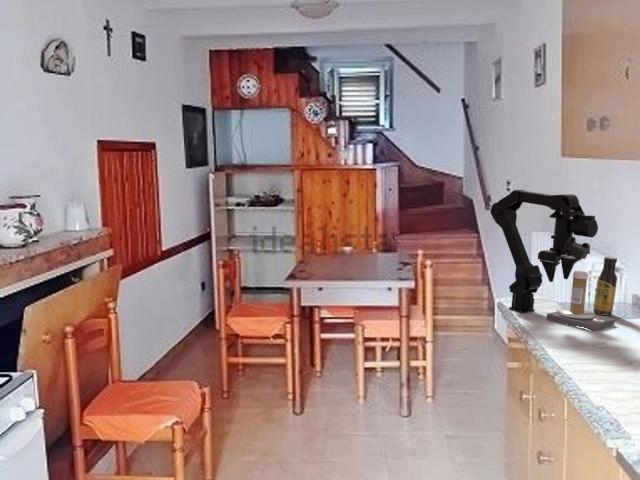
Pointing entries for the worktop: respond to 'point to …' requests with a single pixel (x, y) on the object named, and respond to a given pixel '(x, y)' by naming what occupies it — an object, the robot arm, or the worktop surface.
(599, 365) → the worktop surface
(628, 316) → the worktop surface
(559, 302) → the worktop surface
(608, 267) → the sauce bottle
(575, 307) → the sprinkles bottle
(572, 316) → the scale pan
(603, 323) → the scale
